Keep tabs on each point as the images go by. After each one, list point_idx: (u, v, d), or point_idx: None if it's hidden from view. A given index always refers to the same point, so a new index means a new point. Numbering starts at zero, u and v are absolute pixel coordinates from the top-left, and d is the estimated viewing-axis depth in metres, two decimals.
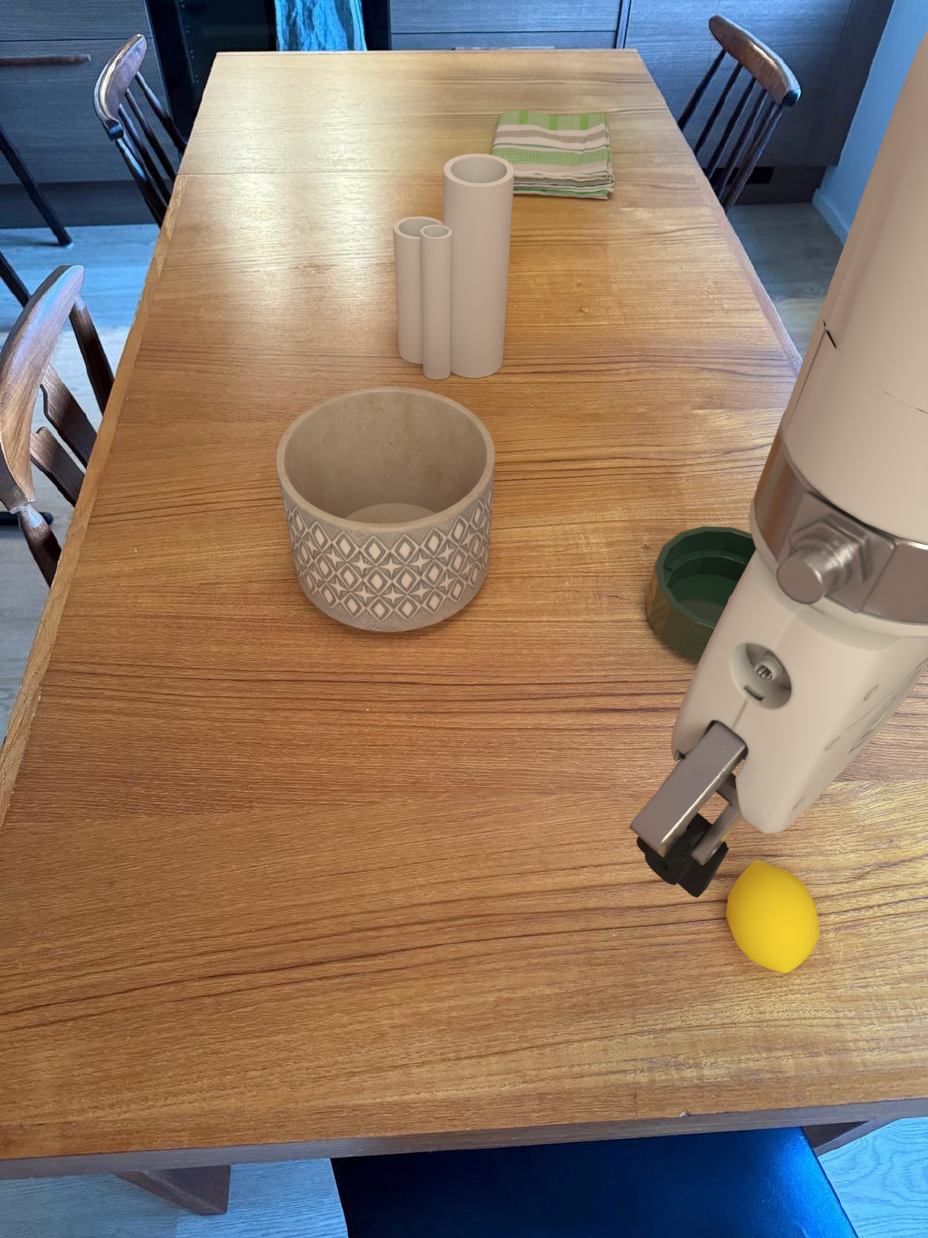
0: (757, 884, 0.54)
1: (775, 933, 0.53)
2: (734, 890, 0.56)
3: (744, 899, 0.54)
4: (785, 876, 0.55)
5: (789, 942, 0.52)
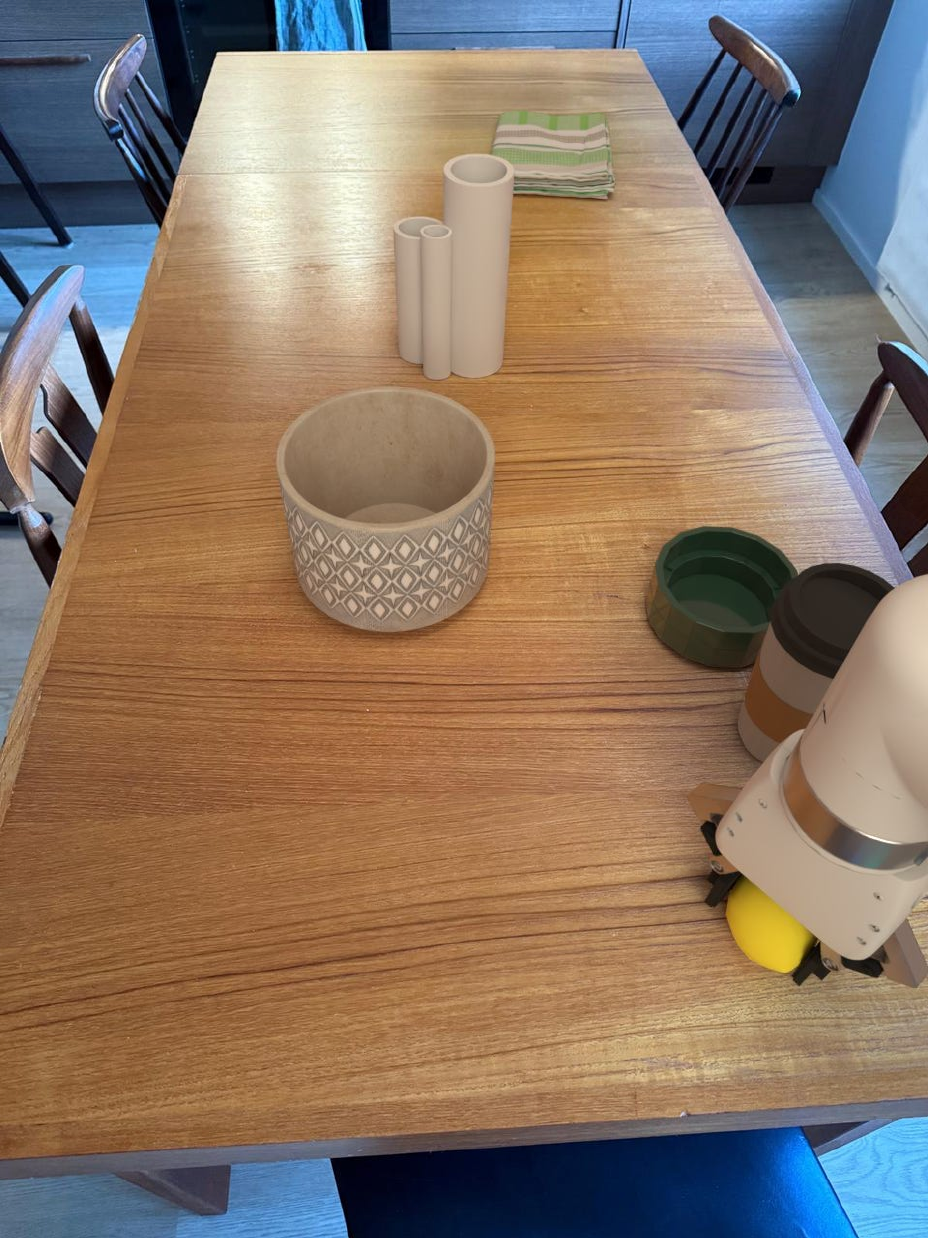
0: None
1: (775, 933, 0.53)
2: (734, 889, 0.56)
3: (744, 899, 0.54)
4: None
5: (789, 942, 0.53)
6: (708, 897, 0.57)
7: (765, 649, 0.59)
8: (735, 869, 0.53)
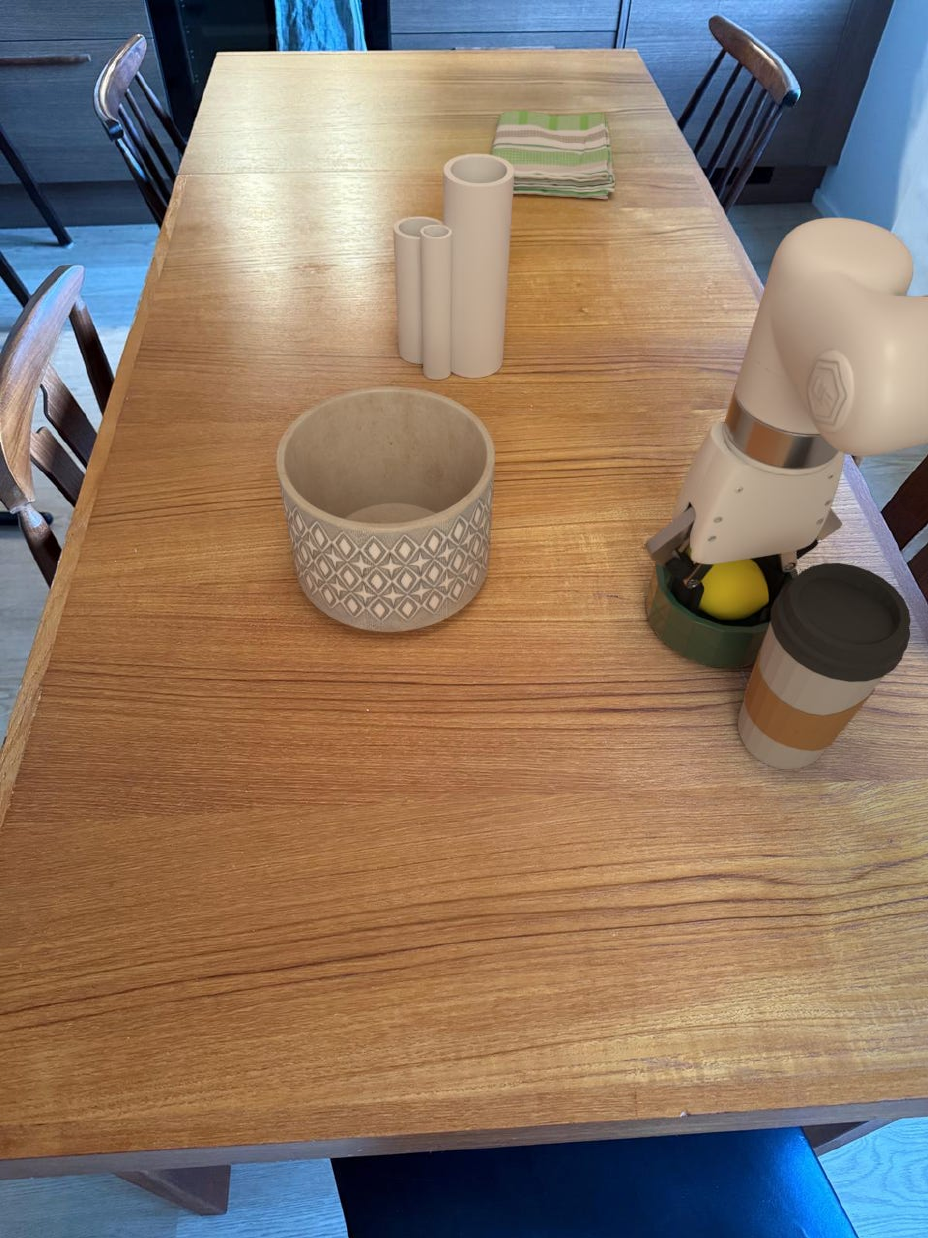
0: (713, 571, 0.69)
1: (751, 583, 0.68)
2: None
3: (717, 586, 0.69)
4: None
5: (760, 580, 0.69)
6: None
7: (765, 649, 0.59)
8: (708, 569, 0.66)
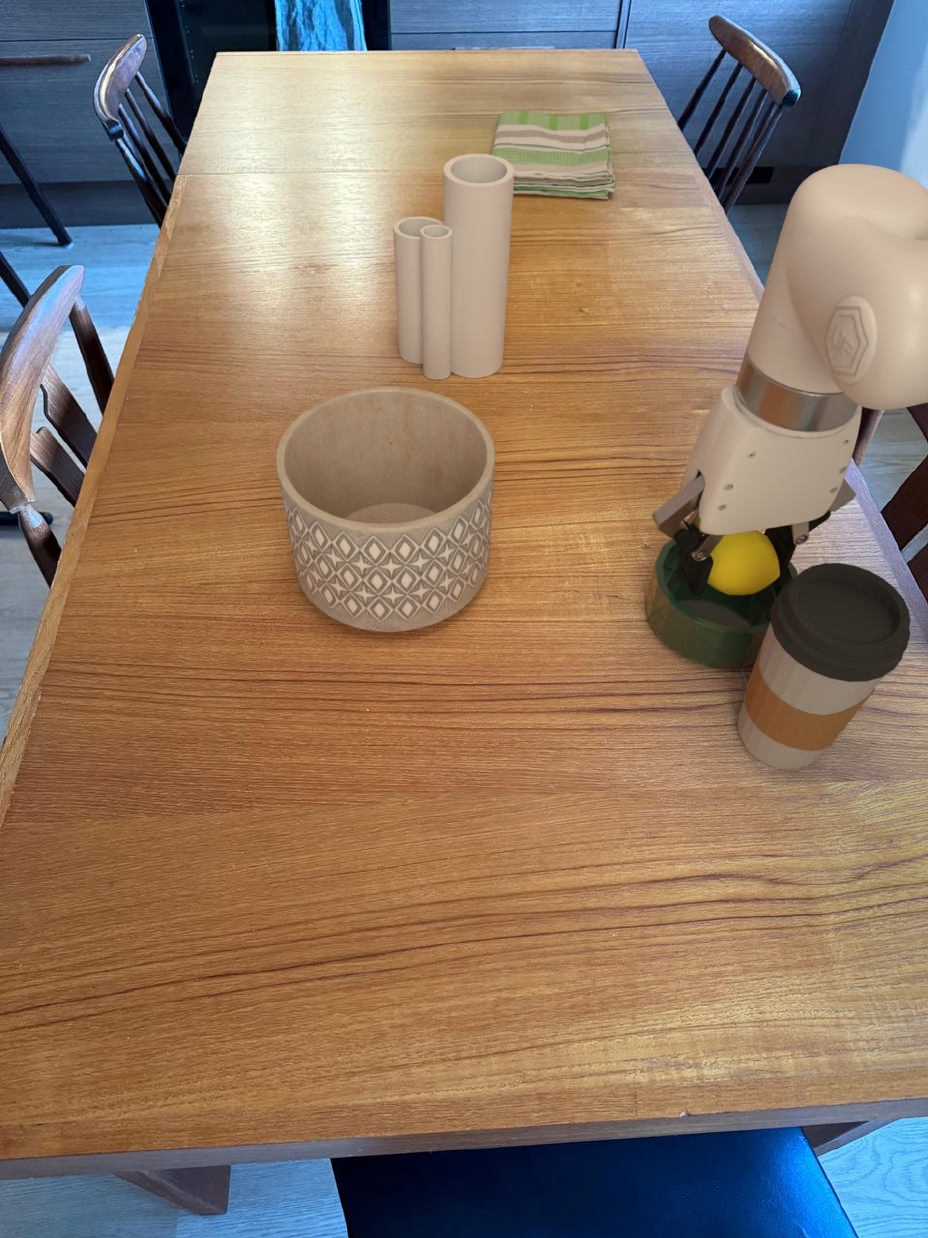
0: (722, 544, 0.67)
1: (762, 556, 0.66)
2: None
3: (726, 559, 0.66)
4: None
5: (771, 553, 0.66)
6: (699, 588, 0.68)
7: (765, 649, 0.59)
8: (718, 541, 0.64)
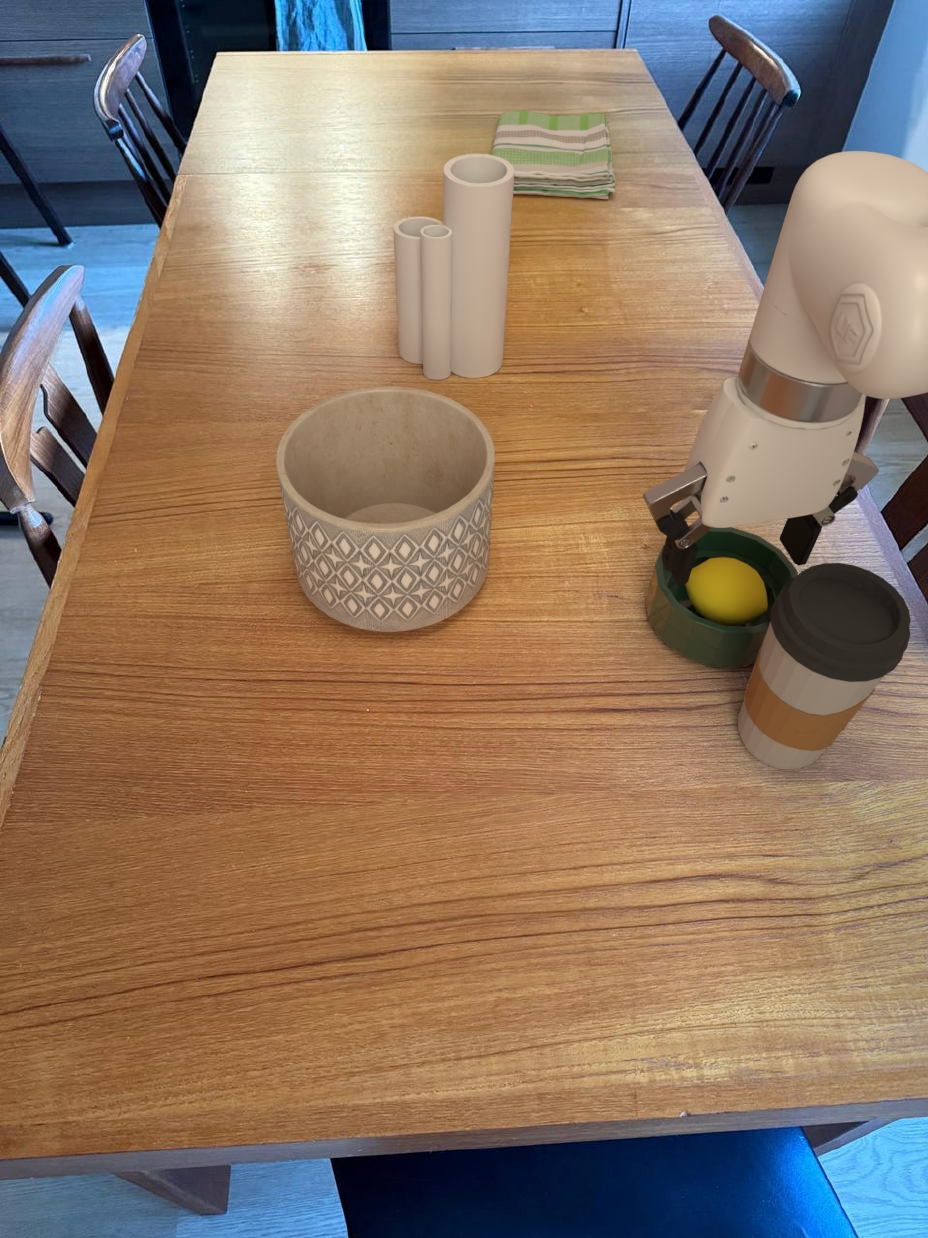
0: (712, 577, 0.70)
1: (750, 590, 0.69)
2: (700, 596, 0.70)
3: (715, 592, 0.69)
4: (715, 560, 0.71)
5: (759, 588, 0.69)
6: (683, 576, 0.66)
7: (765, 649, 0.59)
8: (702, 528, 0.63)
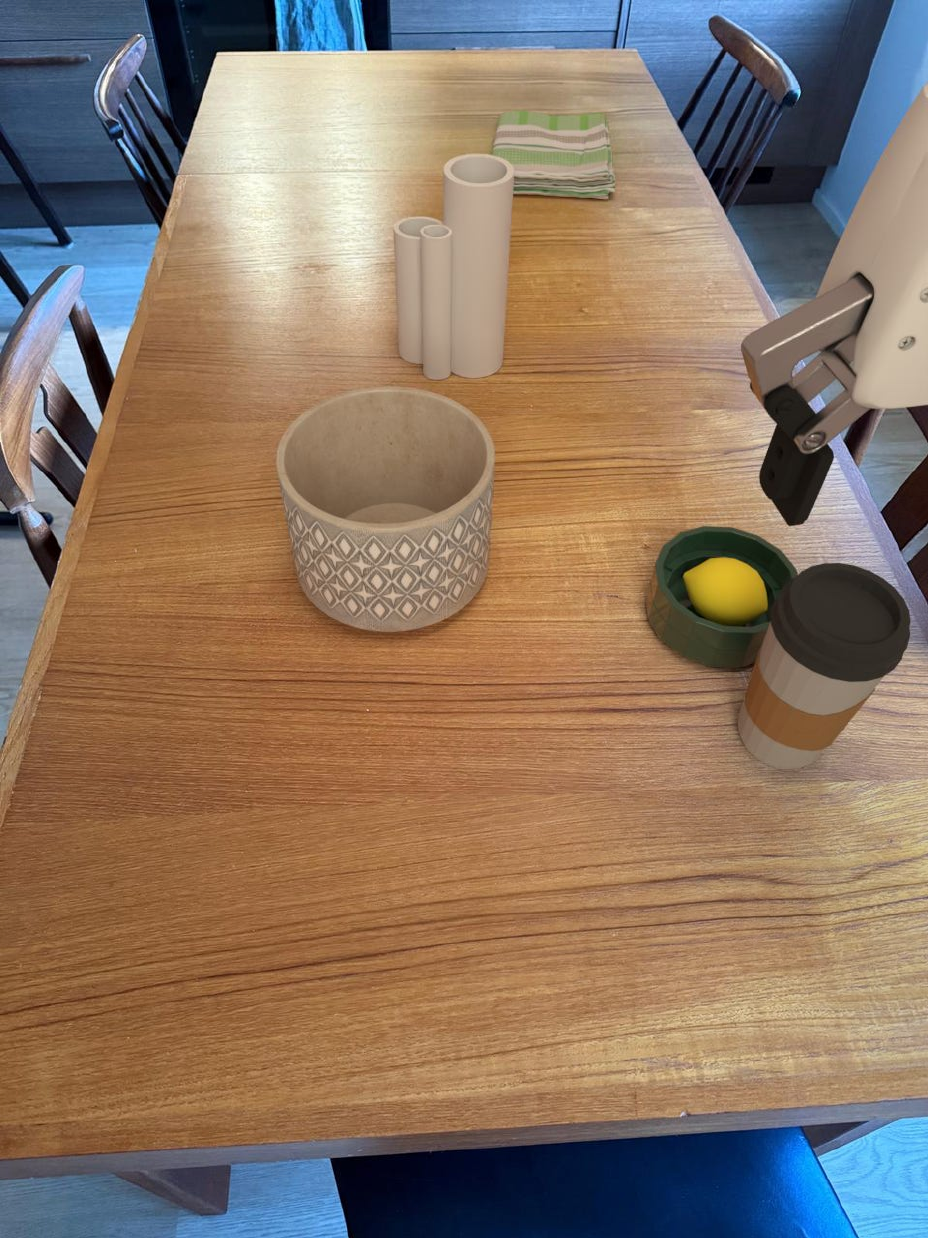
0: (712, 577, 0.70)
1: (750, 590, 0.69)
2: (700, 596, 0.70)
3: (716, 592, 0.69)
4: (715, 560, 0.71)
5: (759, 588, 0.69)
6: (801, 509, 0.37)
7: (765, 649, 0.59)
8: (849, 411, 0.33)
